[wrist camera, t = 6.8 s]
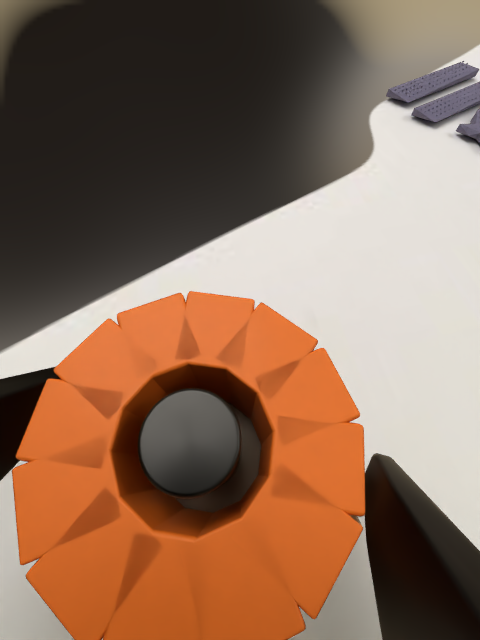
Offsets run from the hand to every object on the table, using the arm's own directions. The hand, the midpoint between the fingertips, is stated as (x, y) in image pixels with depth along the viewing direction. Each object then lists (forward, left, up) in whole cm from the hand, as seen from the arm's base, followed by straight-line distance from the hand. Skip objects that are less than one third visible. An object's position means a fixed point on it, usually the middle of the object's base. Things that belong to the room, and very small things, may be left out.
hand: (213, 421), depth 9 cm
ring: (-1, 0, -1) cm, 2 cm away
